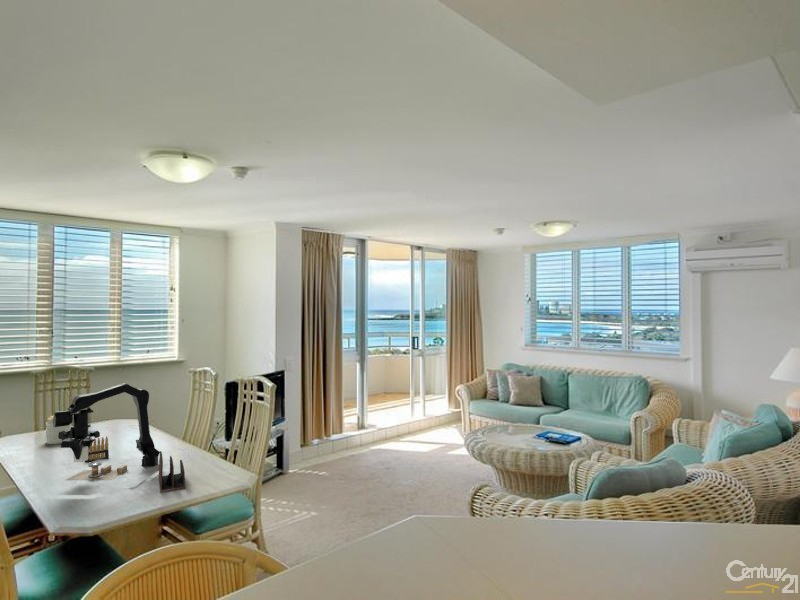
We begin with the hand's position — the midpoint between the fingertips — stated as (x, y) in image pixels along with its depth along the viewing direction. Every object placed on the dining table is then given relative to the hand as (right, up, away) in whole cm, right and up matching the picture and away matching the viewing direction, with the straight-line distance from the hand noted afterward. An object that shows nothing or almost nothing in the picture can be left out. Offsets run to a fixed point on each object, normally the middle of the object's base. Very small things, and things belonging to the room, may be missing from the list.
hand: (81, 457), depth 224 cm
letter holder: (+41, -12, -1) cm, 43 cm away
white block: (0, -1, 0) cm, 1 cm away
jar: (-59, -13, +71) cm, 93 cm away
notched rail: (+9, -10, +11) cm, 17 cm away
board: (+3, -12, +7) cm, 14 cm away
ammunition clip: (-13, -12, +33) cm, 37 cm away
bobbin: (+3, -10, +5) cm, 12 cm away
